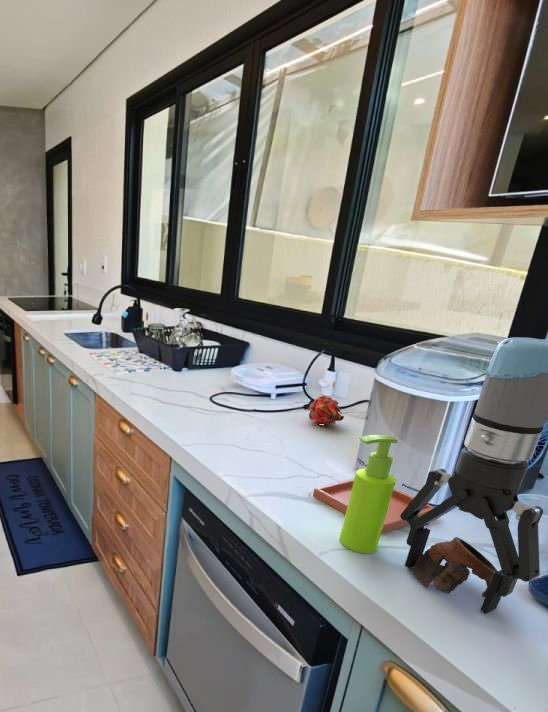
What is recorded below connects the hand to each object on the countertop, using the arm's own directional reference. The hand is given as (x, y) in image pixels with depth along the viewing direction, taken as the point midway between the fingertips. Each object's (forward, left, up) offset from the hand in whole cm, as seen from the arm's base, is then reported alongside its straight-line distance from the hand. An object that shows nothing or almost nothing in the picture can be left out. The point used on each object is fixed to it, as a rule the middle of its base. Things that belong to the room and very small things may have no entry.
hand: (447, 585), depth 77 cm
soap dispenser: (+14, +3, 0) cm, 14 cm away
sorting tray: (+22, -12, 0) cm, 25 cm away
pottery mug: (0, 0, 0) cm, 0 cm away
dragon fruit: (+61, -43, 0) cm, 75 cm away
